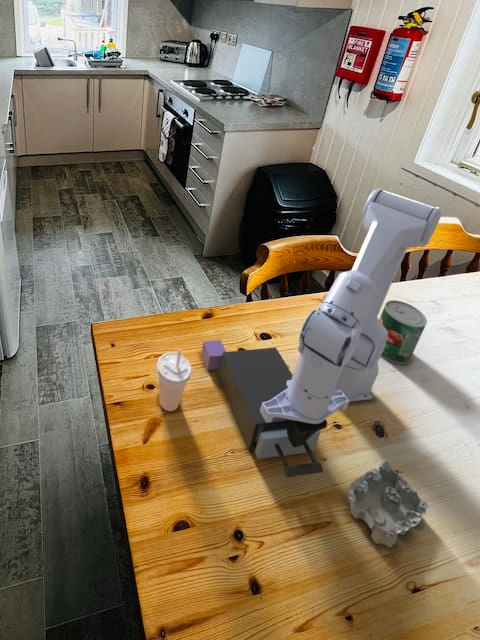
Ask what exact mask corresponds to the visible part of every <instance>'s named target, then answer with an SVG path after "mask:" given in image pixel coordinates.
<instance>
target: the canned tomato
mask: <svg viewBox="0 0 480 640" xmlns="http://www.w3.org/2000/svg"><path fill="white" fill-rule="evenodd" d="M378 320H379V321H380V322H381V324H382V325H383V326H384V327H385V329H386V330H387V332H388V334H387V335H388V338H387V341H386V345H385V348H384V350H383V353H382V355H381V357H382V358H383V359H385V360H387V361H389V362H391V363H394V364H399V365H402V364H407V363H409V362H410V361H411V358H412V356H413V354H414V352H415V349H416V347H417V345H418V343H419V341H420V339H421V337H422V334H423V332H424V330H425V328H426V326H427V324H428V319H427V317H426V316H425V314H424V313H423V312H421V310H419V309H418V308H416V307H415V306H413V305H412V304H409V303H407V302H404V301H401V300H394V299H392V300H388V301H386V302H385V304H384V307H383V309H382V312H381V315H380V317H379V318H378Z"/></svg>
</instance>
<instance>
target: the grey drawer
mask: <svg viewBox="0 0 480 640" xmlns="http://www.w3.org/2000/svg"><path fill="white" fill-rule="evenodd" d="M320 435H321V430H319V431H317V432H316V433H314V434H313V435H312V436H311V437H310V438H309V439H308V440H307V441H306V442H305V443H304V444H303V445H302V446H299V447H293V446H292V444H291V442H290V441H289V439H288V435H287V424H286V423H285V424H276V425H268V426H260V427H259V429H258V433H257V436H256V440H255V442H258V443H257V446H256V449H255V450H254V454H255V456H256V458H257V460H263V459H269V458H270V459H271V458H278V457H279V458H280V461H281V463H282V466H283V471H284V474H285V476H286V477H287V478H293V477H300V476H306V475H307V476H308V475H314V474H321V473H323V472H324V466H323V464H322V462H321V461H318V460H317V458H316V457H315V455H314V451H315V448H316V446H317V443H318V441H319V438H320ZM298 454H299V455H300V454H307V455H308V457H309V459H310V461H311V462H305V463H297V464H291V465H290V464H289V462H288V461H287V459H286V457H285V456H292V455H298Z"/></svg>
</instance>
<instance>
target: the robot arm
mask: <svg viewBox="0 0 480 640" xmlns="http://www.w3.org/2000/svg"><path fill="white" fill-rule="evenodd" d="M361 215H362V219H363V222H362V223H363V224H362V226H363V228H364V229H365V231H366V232H367V235H366V237H365V239H364V241H363V243H362V245H361V247H360V250H359V252H358V255H357V257H356V259H355V261H354V264H353V266H352V268H351V269H350V270H346V271H342V272H340V273H339V274H338V275H337V276H336V278H335V280H334V282H333V284H332V285H331V287H330V289H329V291H328V292H327V294H326V296H325V297H324V299H323V301H322V302H321V304H320V305H319V307H318V309H313V310H311V311H310V313H309V314H308V315H307V317H306V318H305V320H304V322H303V324H302V327H301V330H300V333H299V337H298V341H299V345H298V348H297V351H298V352H299V355H298V358H297V361H296V365H295V368H294V372H293V373H292V375H293V377H292V380H288V381H287V383H286V385H287V387H288V388H287V389H286V390H284V391H283V392H281V393H280V394H278V395H277V396H276V397H274V398H273V399H271V400H269V401H267V402H262V405H261V409H260V412H261V414H262V416H263V418H264V419H265V421H266V423H269V422H272V420H273V418H274V417H279V418H284V419H286V424H287V435H288V439H289V441H290V442H291V444H292V446H293V447H299V446H302V445H303V444H304V443H305V442H306V441H307V440H308V439H309V438H310V437H311V436H312V435H313V434H314V433H316V432H317V431H319V430H320V431H321V430H324V429H326V428H327V427H328V421H327V419H328V418H329V417H330V416H332V415H333V414H334V413H335V412H337V411H338V410H341V411H345V410H347V409H348V406H349V404H350V403H351V402H359V401H367V400H372V399H373V395H372V394H371V391H372V388H373V387H374V384H375V382H376V379H377V377H378V375H379V361H380V359H381V357H382V356H381V355H382V353H383V350H384V348H385V345H386V341H387V338H388V335H387V334H388V332H387V330H386V329H385V327H384V326H383V325H382V324H381V322H380V321H379V318H378V316H379V313H380V312H381V309H382V306H383V304H384V302H385V300H386V297H387V295H388V293H389V290H390V288H391V286H392V283H393V281H394V279H395V277H396V274H397V272H398V269H399V268H400V265H401V262H402V260H403V258H404V256H405V253H406V252H407V251H408V249H410V248H418V247H419V248H425V247H426V246H428V245H429V243H430V241H431V239H432V237H433V235H434V233H435V231H436V229H437V227H438V224H439V222H440V219H441V217H442V211H441V208H440V207H437V206H432V205H428V204H426V203H423V202H419V201H417V200H414V199H410V198H409V197H404V196H402V195H400V194H396V193H392V192H390V191H386V190H384V189H383V188H379V187H378V188H376V189H374V190H372V191H371V192H370V194H369V196H368V197H367V199H366V201H365V204H364V206H363V209H362V214H361Z"/></svg>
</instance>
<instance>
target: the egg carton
mask: <svg viewBox="0 0 480 640" xmlns="http://www.w3.org/2000/svg"><path fill="white" fill-rule="evenodd" d="M347 497H348V498H347V501H348V503H349V506H350V514H351V515H352V516H353V518H354V519H356V520H357V519H361V520H363V521H364V522H365V524H367V526H368V527H369V529H370V531H371V534H370V537H371V539H372V540H373V542H375V544H382V545H385V546H386V547H387V548H392V547H393V546H394V545H395V544H396V543H397V540H398V538H399V535H398V534H400V535H401V536H404V535H405V534H406V533H407V532H408V531H409V530H410V529H411V528H413V527H415V526H417V525H418V524H419V523H420V522H421V520H422V519H423V517H424V515H425V514H426V512H427V510H428V508H429V504H428V503H427V502H426V501H423V499H421V497H420V496H419V495H418V491H417V490H416V489H414V488H413V487H412V486H411V485H410V484H409V482H408V481H407V480H406V479H405V478H404V476H402V474H401V473H398V471H396V469H395V468H394V466H393V465H392V464H391V463H390V461H388V460H385V461H384V462H382V463H380V464H379V465H377V466H376V467H374V468H373V469H370V470H368V471H367V472H366V473H364V474H363V475H361V476H360V477H357V478H356V479H354V480H353V481H352V482H351V484H350V485H349V489H348V492H347Z"/></svg>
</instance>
